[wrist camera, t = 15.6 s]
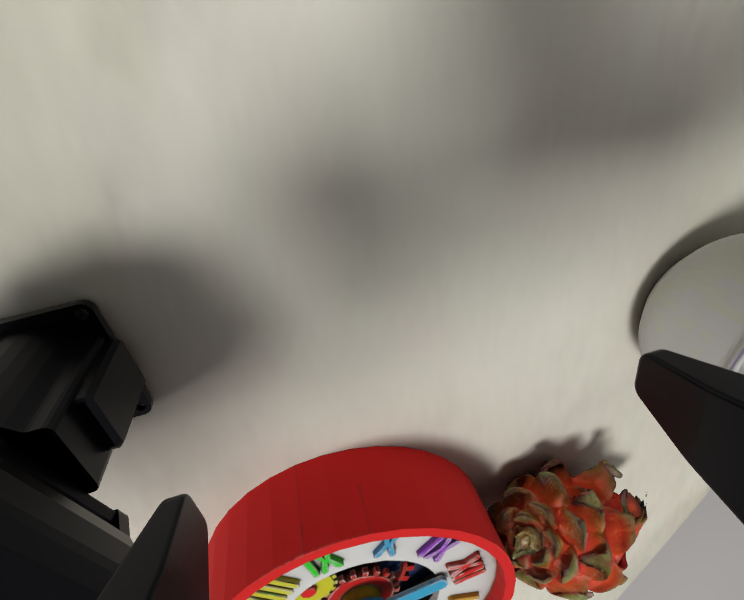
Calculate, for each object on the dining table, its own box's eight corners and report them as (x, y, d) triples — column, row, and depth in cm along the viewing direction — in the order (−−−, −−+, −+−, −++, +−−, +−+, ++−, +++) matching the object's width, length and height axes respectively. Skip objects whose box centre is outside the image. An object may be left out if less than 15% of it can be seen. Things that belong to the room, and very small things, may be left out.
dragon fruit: (449, 469, 32) (572, 431, 36) (471, 587, 32) (594, 535, 36) (522, 503, 24) (670, 450, 29) (554, 662, 24) (701, 583, 28)
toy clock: (115, 636, 21) (485, 475, 22) (142, 526, 26) (444, 398, 27) (286, 738, 32) (533, 628, 32) (282, 646, 37) (497, 552, 37)
